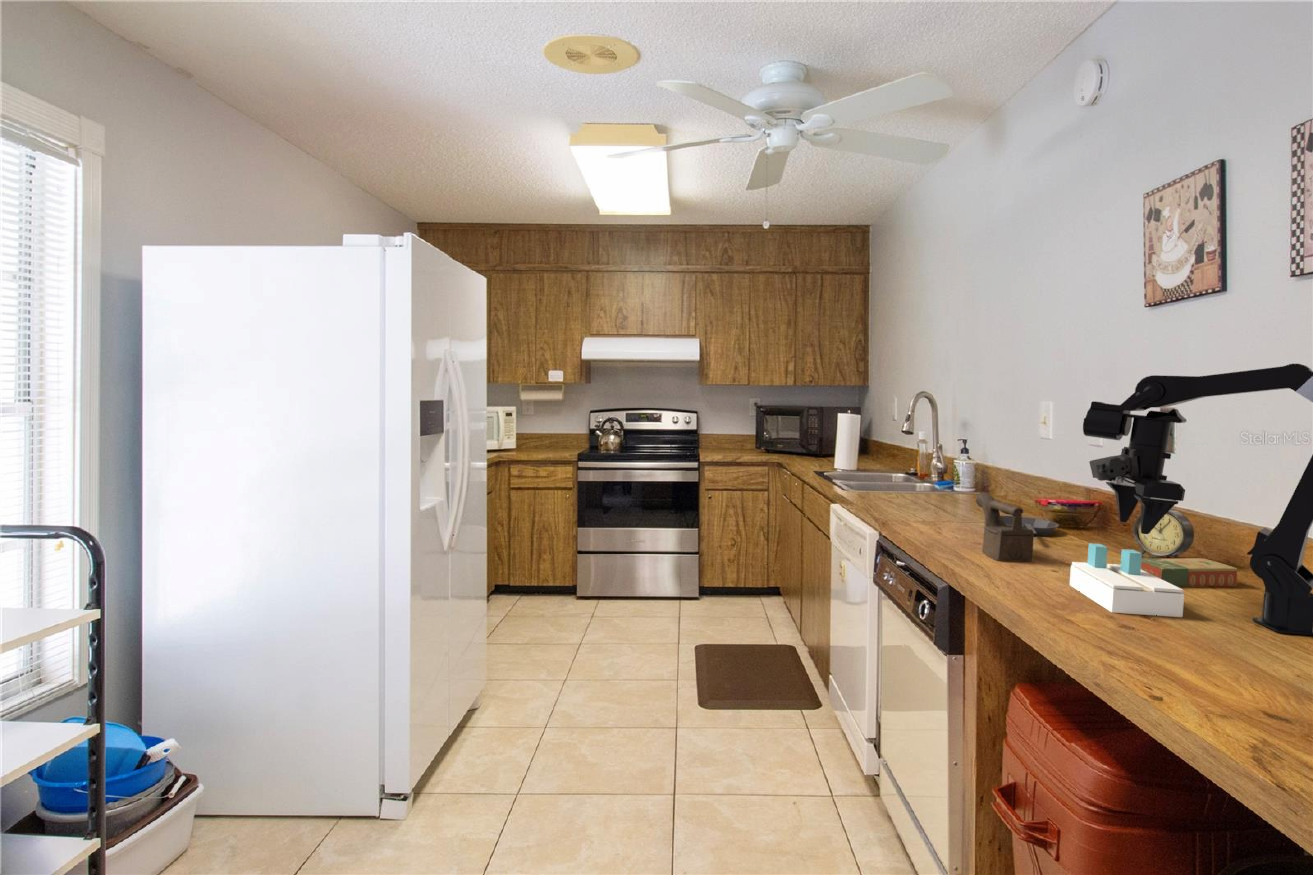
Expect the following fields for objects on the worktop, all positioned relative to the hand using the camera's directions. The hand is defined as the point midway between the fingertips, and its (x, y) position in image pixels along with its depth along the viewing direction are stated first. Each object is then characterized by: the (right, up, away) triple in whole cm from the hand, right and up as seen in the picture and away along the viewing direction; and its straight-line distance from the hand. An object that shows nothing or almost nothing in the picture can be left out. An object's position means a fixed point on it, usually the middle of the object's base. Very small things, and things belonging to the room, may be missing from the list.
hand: (1133, 527), depth 129 cm
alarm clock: (+28, -12, +31) cm, 43 cm away
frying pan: (+9, -10, +56) cm, 58 cm away
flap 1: (-6, -9, -1) cm, 11 cm away
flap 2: (0, -9, -2) cm, 9 cm away
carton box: (-3, -13, -2) cm, 14 cm away
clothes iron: (-8, -11, +33) cm, 35 cm away
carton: (+19, -13, +13) cm, 26 cm away
